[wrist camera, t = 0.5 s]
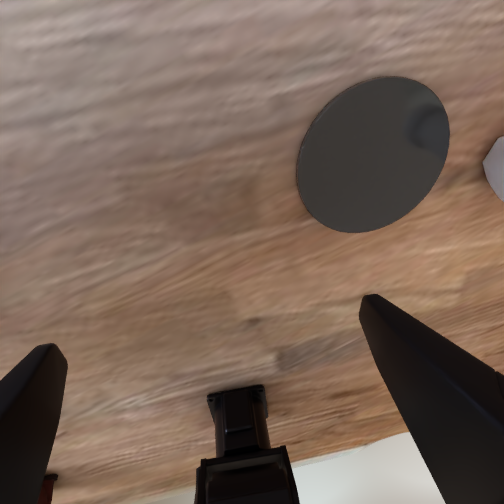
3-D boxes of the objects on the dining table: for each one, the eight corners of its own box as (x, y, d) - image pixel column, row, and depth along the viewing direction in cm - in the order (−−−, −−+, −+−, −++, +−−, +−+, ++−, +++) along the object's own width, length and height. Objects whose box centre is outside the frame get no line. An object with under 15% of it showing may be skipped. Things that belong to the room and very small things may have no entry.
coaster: (427, 219, 26) (430, 221, 26) (297, 239, 25) (299, 243, 25) (464, 65, 20) (469, 65, 19) (294, 87, 19) (296, 88, 19)
